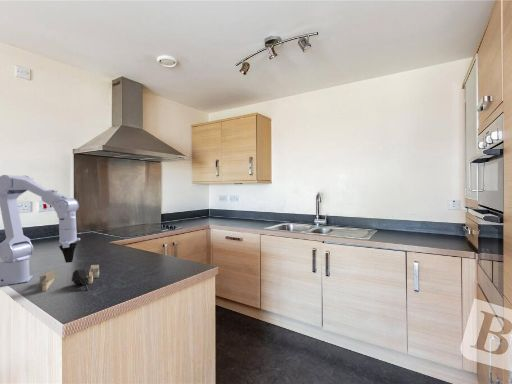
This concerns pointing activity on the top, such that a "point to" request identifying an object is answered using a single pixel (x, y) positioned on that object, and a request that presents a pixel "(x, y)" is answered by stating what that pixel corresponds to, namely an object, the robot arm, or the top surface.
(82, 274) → the power plug
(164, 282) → the top surface
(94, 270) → the guide channel
